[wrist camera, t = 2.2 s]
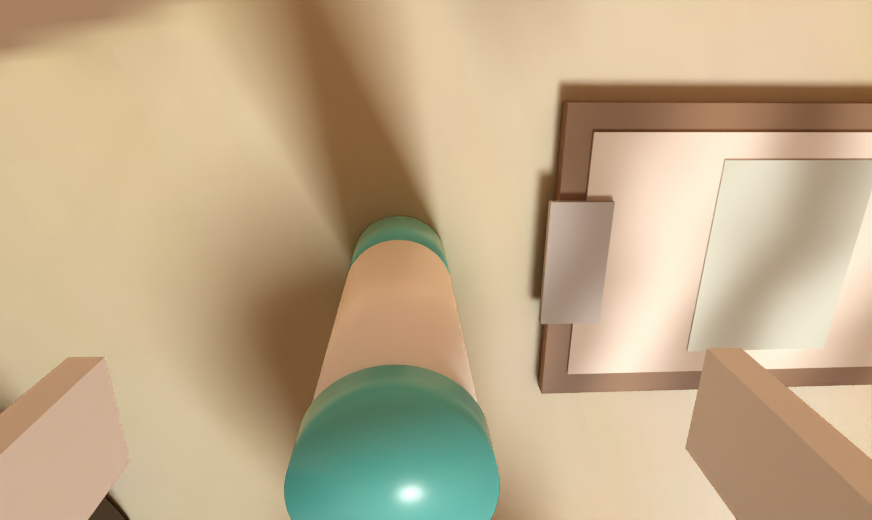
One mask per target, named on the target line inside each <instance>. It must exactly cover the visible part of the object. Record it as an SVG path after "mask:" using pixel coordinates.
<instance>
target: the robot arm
mask: <svg viewBox="0 0 872 520" xmlns="http://www.w3.org/2000/svg"><path fill="white" fill-rule="evenodd" d="M686 450H687V451H688V452H689V454H690V455H691V457H692V458H693V459H694V461H695V462H696V464H697V465H698V466H699V468H700V469H701V471H702V472H703V473H704V475H705V476H706V478H707V479H708V480H709V482H710V483H711V485H712V486H713V487H714V489H715V490H716V491H717V493H718V494H719V496H720V497H721V498H722V500H723V501H724V503H725V504H726V505H727V507H728V508H729V510H730V511H731V512H732V514H733V515H734V517H735V518H736V519H737V520H872V459H870V458H869V457H868V456H867V455H866V454H865V453H863V452H862V451H861V450H860V449H859V448H858V447H856V446H855V445H854V444H853V443H852V442H851V441H849V440H848V439H847V438H846V437H845V436H843V435H842V434H841V433H840V432H839V431H838V430H836V429H835V428H834V427H833V426H832V425H831V424H829V423H828V422H827V421H826V420H825V419H824V418H822V417H821V416H820V415H819V414H818V413H817V412H815V411H814V410H813V409H812V408H811V407H810V406H808V405H807V404H806V403H805V402H804V401H802V400H801V399H800V398H799V397H798V396H797V395H795V394H794V393H793V392H792V391H791V390H790V389H788V388H787V387H786V386H785V385H784V384H783V383H781V382H780V381H779V380H778V379H777V378H776V377H774V376H773V375H772V374H771V373H770V372H769V371H767V370H766V369H765V368H764V367H763V366H761V365H760V364H759V363H758V362H757V361H756V360H754V359H753V358H752V357H751V356H750V355H749V354H747V353H746V352H745V351H744V350H743V349H742V348H707V350H706V355H705V360H704V364H703V369H702V373H701V378H700V383H699V387H698V392H697V397H696V401H695V406H694V411H693V415H692V420H691V424H690V429H689V434H688V438H687V443H686ZM129 462H130V457H129V453H128V449H127V445H126V441H125V437H124V433H123V428H122V424H121V420H120V416H119V412H118V408H117V404H116V400H115V396H114V392H113V388H112V384H111V380H110V376H109V372H108V368H107V364H106V360H105V357H71V358H67V359H66V360H64V361H63V362H62V363H61V364H60V365H58V366H57V367H56V368H55V369H54V370H52V371H51V372H50V373H49V374H48V375H46V376H45V377H44V378H43V379H42V380H40V381H39V382H38V383H37V384H36V385H34V386H33V387H32V388H31V389H30V390H28V391H27V392H26V393H25V394H24V395H22V396H21V397H20V398H19V399H18V400H16V401H15V402H14V403H13V404H12V405H10V406H9V407H8V408H7V409H6V410H5V411H3V412H2V413H1V414H0V520H125V519H124V518H123V516H122V515H121V514H120V513H119V512H118V510H117V509H116V508H115V507H114V506H113V505H112V504H111V503H110V502H109V501H108V500H107V499H106V498H105V495H106V494H107V493H108V491H109V490H110V489H111V487H112V486H113V484H114V483H115V482H116V480H117V479H118V477H119V476H120V475H121V473H122V472H123V471H124V469H125V468H126V466H127V465H128V464H129Z"/></svg>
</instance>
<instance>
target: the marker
mask: <svg viewBox="0 0 872 520" xmlns="http://www.w3.org/2000/svg"><path fill="white" fill-rule="evenodd" d="M499 490H500V484H499V474H498V469H497V464H496V460H495V456H494V451H493V447H492V443H491V438H490V434H489V430H488V425H487V422H486V419H485V417H484V414H483V412H482V410H481V409H480V407H479V405H478V403H477V399H476V394H475V389H474V385H473V380H472V376H471V371H470V366H469V362H468V357H467V353H466V348H465V343H464V339H463V334H462V330H461V325H460V320H459V316H458V311H457V306H456V302H455V297H454V293H453V288H452V283H451V279H450V274H449V270H448V265H447V260H446V256H445V251H444V247H443V244H442V242H441V240H440V238H439V236H438V235H437V233H436V232H435V231H434V230H433V229H432V228H431V227H430V226H429V225H427V224H426V223H424V222H423V221H420V220H418V219H416V218H413V217H408V216H390V217H386V218H383V219H380V220H378V221H376V222H375V223H373V224H372V225H370V226H369V227H368V228H367V229H366V230H365V231H364V232H363V233H362V235H361V236H360V238H359V239H358V242H357V244H356V247H355V250H354V254H353V258H352V261H351V265H350V268H349V272H348V276H347V279H346V283H345V286H344V290H343V294H342V297H341V301H340V304H339V308H338V311H337V315H336V319H335V322H334V326H333V329H332V333H331V337H330V340H329V344H328V347H327V351H326V355H325V358H324V362H323V365H322V369H321V373H320V376H319V380H318V383H317V387H316V391H315V394H314V398H313V401H312V404H311V405H310V406H309V408H308V409H307V411H306V413H305V415H304V417H303V419H302V422H301V425H300V429H299V432H298V435H297V439H296V442H295V446H294V449H293V452H292V456H291V459H290V463H289V466H288V470H287V473H286V477H285V485H284V494H285V502H286V507H287V510H288V513H289V515H290V518H291V520H491V518H492V516H493V514H494V511H495V509H496V505H497V502H498V497H499Z"/></svg>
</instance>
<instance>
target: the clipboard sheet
mask: <svg viewBox="0 0 872 520" xmlns="http://www.w3.org/2000/svg"><path fill="white" fill-rule="evenodd" d="M539 322H540V324H544V328H543V339H542V350H541V361H540V373H539V384H538V386H539V388H540V391H541V393H542V394H544V393H580V392H616V391H652V390H688V389H698V387H699V383H700V378H701V373H702V369H703V364H704V360H705V355H706V350H707V348H742V349H743V350H744V351H745V352H746V353H747V354H749V355H750V356H751V357H752V358H753V359H754V360H756V361H757V362H758V363H759V364H760V365H761V366H763V367H764V368H765V369H766V370H767V371H769V372H770V373H771V374H772V375H773V376H774V377H776V378H777V379H778V380H779V381H780V382H781V383H783V384H784V385H785V386H786V387H797V386H833V385H869V384H872V103H781V102H563V113H562V124H561V135H560V147H559V158H558V169H557V181H556V192H555V201H549V205H548V217H547V229H546V241H545V252H544V264H543V276H542V288H541V300H540V312H539Z"/></svg>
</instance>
